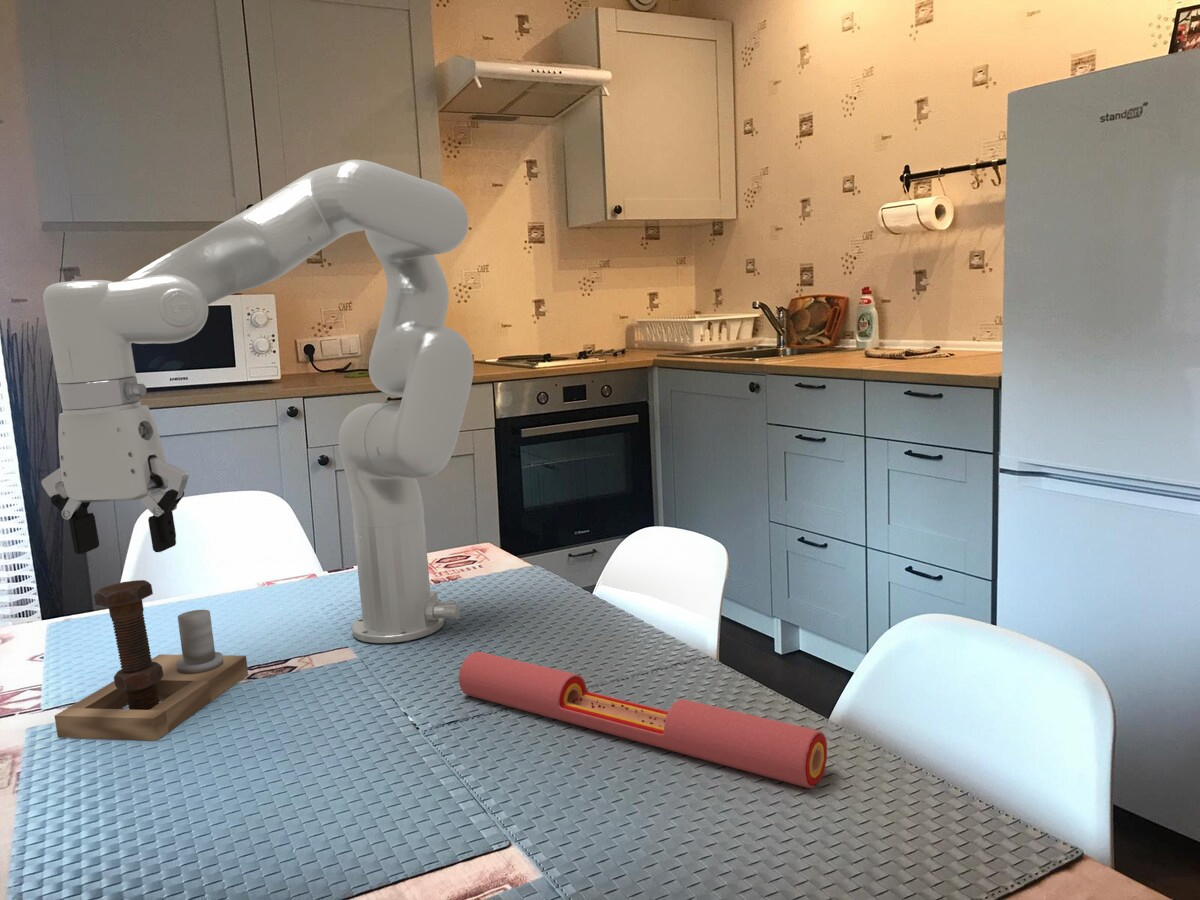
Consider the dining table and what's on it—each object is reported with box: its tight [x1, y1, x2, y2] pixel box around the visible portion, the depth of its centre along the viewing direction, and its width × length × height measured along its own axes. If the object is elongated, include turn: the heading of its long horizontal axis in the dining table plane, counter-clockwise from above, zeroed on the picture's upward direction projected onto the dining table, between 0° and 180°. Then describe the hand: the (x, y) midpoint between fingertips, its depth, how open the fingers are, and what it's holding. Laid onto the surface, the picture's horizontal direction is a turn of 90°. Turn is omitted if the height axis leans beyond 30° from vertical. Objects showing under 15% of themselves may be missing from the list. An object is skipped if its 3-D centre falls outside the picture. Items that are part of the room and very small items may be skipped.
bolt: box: [93, 579, 164, 710], centre depth 106 cm, size 6×5×15 cm
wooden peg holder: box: [54, 609, 249, 742], centre depth 109 cm, size 12×18×9 cm, turn 170°
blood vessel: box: [458, 651, 828, 789], centre depth 96 cm, size 42×5×5 cm, turn 54°
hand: (126, 549), depth 104 cm, fingers open, 9 cm apart
